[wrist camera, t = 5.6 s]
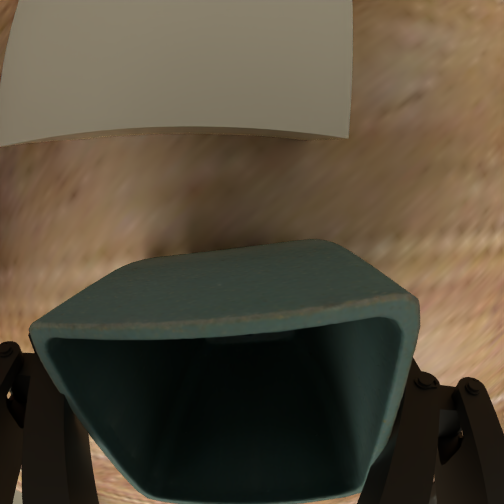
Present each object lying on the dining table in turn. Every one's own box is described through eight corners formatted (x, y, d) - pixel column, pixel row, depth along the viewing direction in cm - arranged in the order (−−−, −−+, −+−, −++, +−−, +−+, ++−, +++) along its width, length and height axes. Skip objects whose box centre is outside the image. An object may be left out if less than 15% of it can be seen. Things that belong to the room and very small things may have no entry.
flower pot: (329, 200, 13) (430, 291, 5) (333, 355, 16) (370, 494, 8) (142, 224, 14) (19, 324, 5) (183, 368, 17) (143, 499, 8)
